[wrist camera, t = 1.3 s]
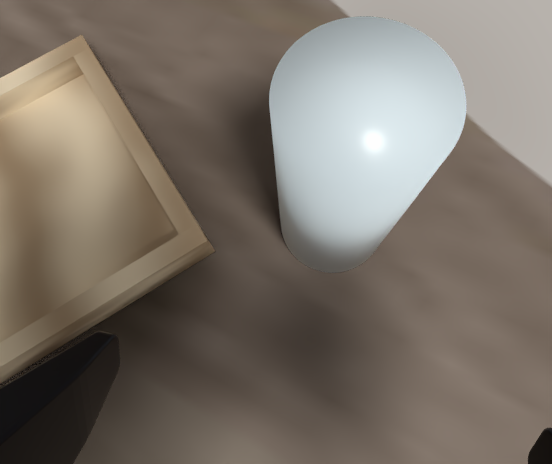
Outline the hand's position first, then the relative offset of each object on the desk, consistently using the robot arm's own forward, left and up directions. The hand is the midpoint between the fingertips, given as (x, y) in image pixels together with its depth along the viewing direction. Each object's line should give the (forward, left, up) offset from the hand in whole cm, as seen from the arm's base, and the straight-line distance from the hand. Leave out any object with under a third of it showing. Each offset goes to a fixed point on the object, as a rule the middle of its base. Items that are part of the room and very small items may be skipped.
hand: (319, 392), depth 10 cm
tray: (-9, +15, -13) cm, 21 cm away
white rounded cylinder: (+5, +6, -13) cm, 15 cm away
